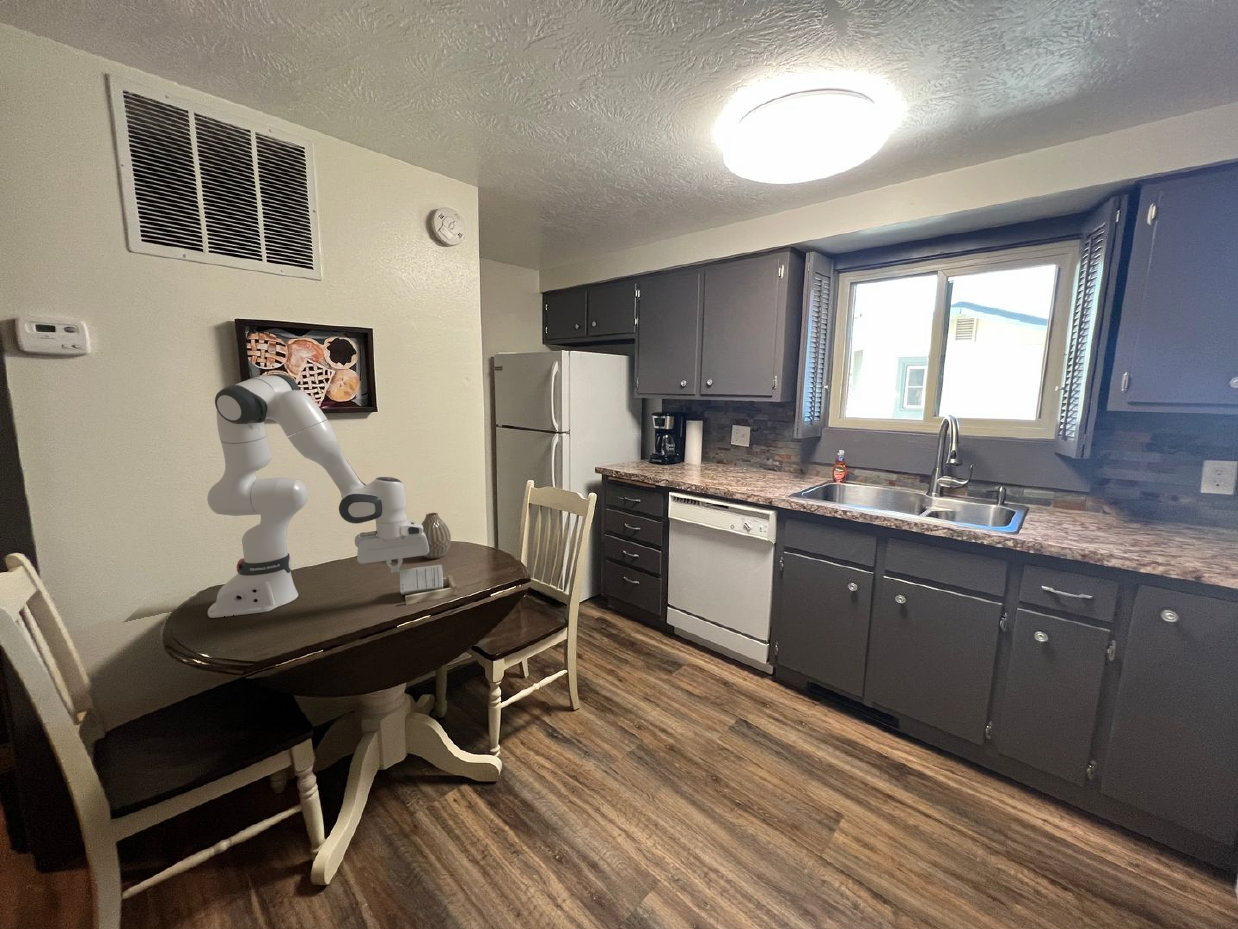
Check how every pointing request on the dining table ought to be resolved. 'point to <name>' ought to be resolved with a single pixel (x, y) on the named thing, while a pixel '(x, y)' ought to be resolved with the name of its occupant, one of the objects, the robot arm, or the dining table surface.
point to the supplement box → (421, 579)
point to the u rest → (434, 592)
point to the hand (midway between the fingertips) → (395, 572)
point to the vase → (436, 536)
